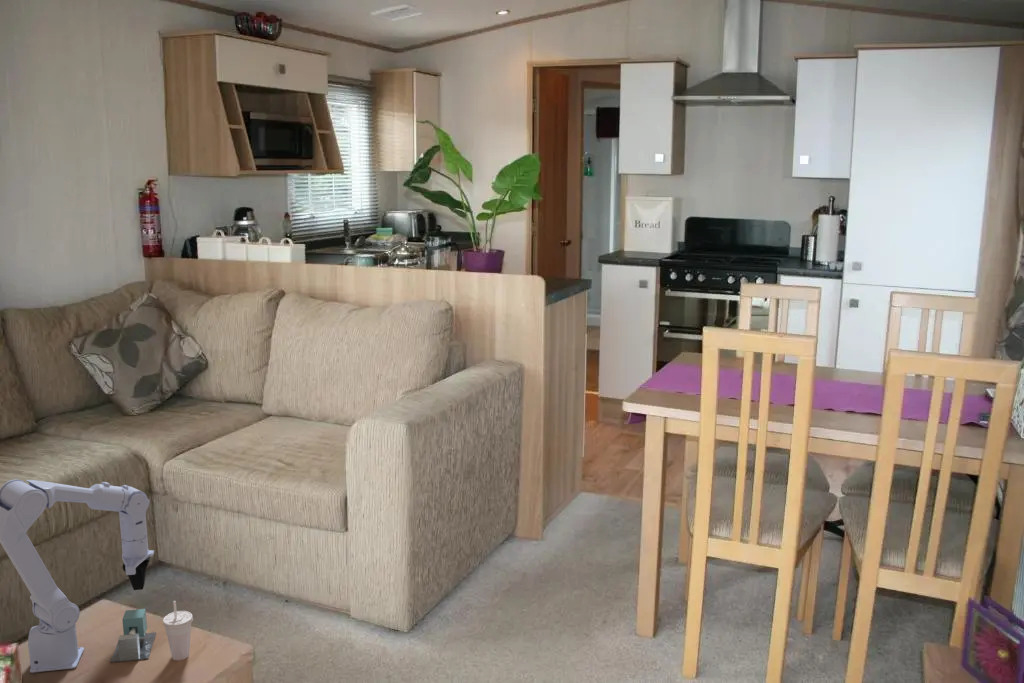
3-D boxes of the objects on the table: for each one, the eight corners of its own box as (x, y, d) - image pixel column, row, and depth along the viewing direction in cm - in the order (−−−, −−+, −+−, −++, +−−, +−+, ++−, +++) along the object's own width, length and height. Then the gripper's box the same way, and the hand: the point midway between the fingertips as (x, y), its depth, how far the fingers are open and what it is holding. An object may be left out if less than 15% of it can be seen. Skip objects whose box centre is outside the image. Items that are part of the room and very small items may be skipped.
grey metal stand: (110, 663, 201) (108, 641, 200) (120, 636, 212) (118, 615, 210) (148, 659, 203) (146, 637, 202) (156, 633, 213) (154, 612, 212)
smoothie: (159, 658, 203) (155, 603, 200) (181, 645, 208) (177, 590, 205) (179, 666, 200) (175, 610, 197) (201, 652, 206) (197, 597, 202)
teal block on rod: (124, 638, 207) (122, 619, 206) (127, 629, 211) (125, 610, 210) (144, 636, 208) (142, 617, 207) (147, 627, 212) (145, 608, 211)
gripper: (146, 548, 205) (151, 601, 208) (157, 522, 219) (161, 572, 222) (114, 551, 204) (119, 604, 207) (126, 524, 218) (131, 575, 221)
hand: (138, 588), depth 214 cm, fingers closed
